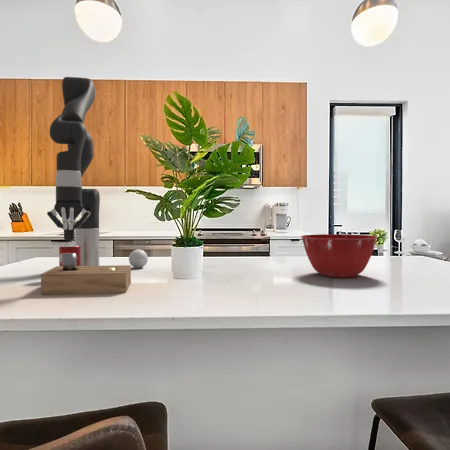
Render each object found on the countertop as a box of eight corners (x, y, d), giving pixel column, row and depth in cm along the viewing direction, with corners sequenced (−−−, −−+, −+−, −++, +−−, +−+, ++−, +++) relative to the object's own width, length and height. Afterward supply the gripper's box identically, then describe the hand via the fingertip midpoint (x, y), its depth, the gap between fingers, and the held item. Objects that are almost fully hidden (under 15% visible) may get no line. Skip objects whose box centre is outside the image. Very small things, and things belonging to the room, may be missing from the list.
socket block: (56, 284, 129) (56, 266, 129) (130, 282, 133) (130, 265, 133) (41, 294, 113) (41, 274, 113) (125, 292, 117) (125, 272, 117)
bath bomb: (130, 266, 171) (130, 248, 171) (148, 266, 172) (148, 248, 171) (127, 269, 163) (127, 250, 163) (147, 269, 164) (146, 250, 164)
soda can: (73, 281, 135) (73, 246, 135) (54, 280, 137) (54, 246, 136) (85, 277, 142) (85, 244, 142) (67, 276, 144) (67, 244, 143)
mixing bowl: (293, 278, 144) (294, 236, 144) (307, 268, 171) (308, 232, 170) (375, 284, 134) (376, 239, 133) (377, 272, 160) (377, 234, 159)
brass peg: (103, 285, 126) (103, 267, 125) (116, 285, 126) (116, 267, 126) (101, 288, 122) (101, 269, 121) (114, 287, 122) (114, 268, 122)
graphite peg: (64, 271, 124) (64, 253, 123) (77, 271, 124) (77, 252, 124) (61, 273, 120) (60, 254, 120) (74, 273, 120) (74, 254, 120)
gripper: (93, 187, 126) (93, 240, 126) (50, 186, 124) (50, 241, 124) (88, 185, 118) (88, 242, 119) (42, 184, 116) (43, 242, 117)
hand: (69, 241), depth 122 cm, fingers closed
